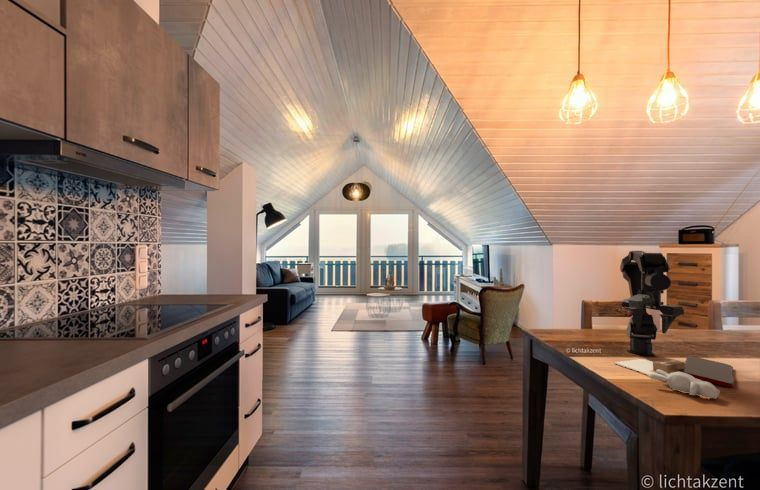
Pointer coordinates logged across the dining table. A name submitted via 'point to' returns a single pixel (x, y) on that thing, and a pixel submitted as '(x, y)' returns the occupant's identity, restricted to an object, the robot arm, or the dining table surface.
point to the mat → (639, 365)
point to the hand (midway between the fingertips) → (650, 330)
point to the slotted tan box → (668, 365)
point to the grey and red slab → (709, 371)
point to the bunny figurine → (687, 383)
